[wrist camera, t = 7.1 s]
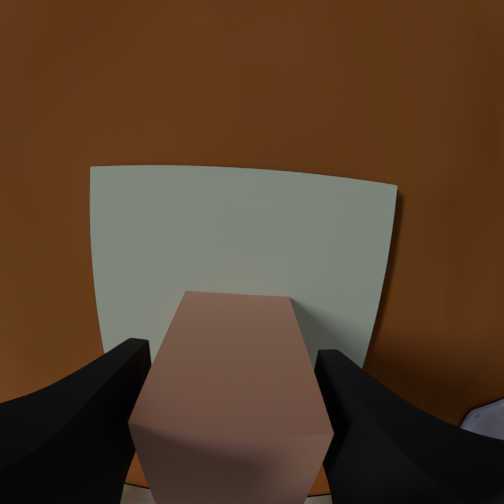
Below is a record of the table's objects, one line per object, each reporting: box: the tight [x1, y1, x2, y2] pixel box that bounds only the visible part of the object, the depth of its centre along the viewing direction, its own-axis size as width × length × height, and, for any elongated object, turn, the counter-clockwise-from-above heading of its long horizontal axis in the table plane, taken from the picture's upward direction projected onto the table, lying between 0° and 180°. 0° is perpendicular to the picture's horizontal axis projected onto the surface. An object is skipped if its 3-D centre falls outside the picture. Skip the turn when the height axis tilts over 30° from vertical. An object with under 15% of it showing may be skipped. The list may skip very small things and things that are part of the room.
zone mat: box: [90, 165, 397, 370], centre depth 12 cm, size 12×12×1 cm
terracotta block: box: [128, 291, 334, 504], centre depth 9 cm, size 4×4×7 cm
